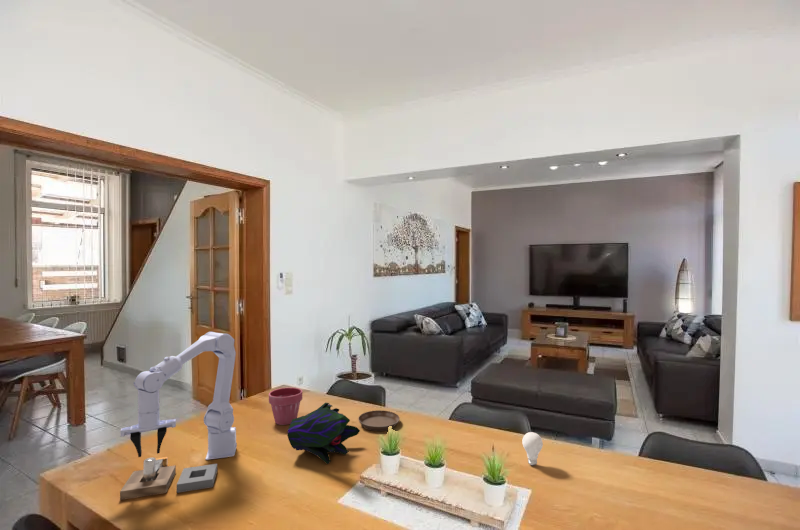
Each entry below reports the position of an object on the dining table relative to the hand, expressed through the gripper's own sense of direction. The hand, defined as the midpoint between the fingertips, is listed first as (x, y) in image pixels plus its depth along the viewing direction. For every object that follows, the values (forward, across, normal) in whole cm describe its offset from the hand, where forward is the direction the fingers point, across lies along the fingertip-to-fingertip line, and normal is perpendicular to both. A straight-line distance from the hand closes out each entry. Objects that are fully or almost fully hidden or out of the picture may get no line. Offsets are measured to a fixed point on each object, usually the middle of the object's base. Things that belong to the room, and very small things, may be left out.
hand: (149, 454), depth 125 cm
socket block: (+10, 0, 0) cm, 10 cm away
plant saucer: (+10, -83, -7) cm, 84 cm away
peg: (+10, 0, 0) cm, 10 cm away
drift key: (+10, -2, -7) cm, 12 cm away
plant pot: (+10, -49, -31) cm, 59 cm away
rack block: (+10, -13, +5) cm, 17 cm away
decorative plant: (+10, -56, +8) cm, 57 cm away
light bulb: (+10, -113, +50) cm, 124 cm away
